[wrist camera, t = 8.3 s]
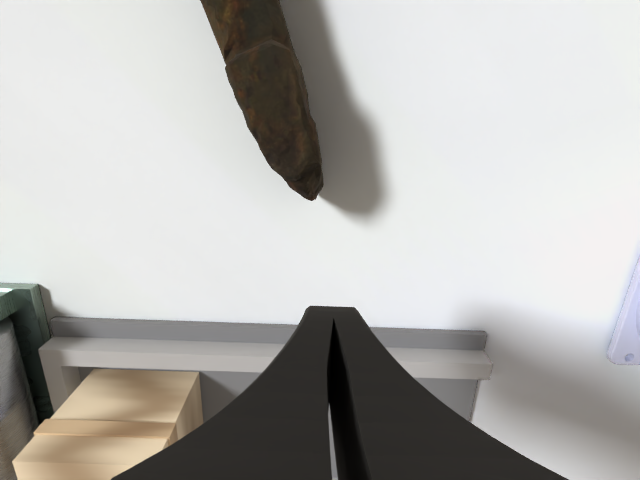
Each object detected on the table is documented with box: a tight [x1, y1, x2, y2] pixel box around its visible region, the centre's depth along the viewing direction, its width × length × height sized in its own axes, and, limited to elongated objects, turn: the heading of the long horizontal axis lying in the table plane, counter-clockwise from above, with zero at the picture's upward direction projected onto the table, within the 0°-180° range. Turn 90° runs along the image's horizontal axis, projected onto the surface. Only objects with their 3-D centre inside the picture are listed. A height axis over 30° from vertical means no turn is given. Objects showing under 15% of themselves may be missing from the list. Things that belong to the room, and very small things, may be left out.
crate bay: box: [38, 317, 493, 480], centre depth 22 cm, size 24×13×2 cm, turn 88°
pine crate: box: [12, 369, 203, 480], centre depth 20 cm, size 6×7×6 cm
